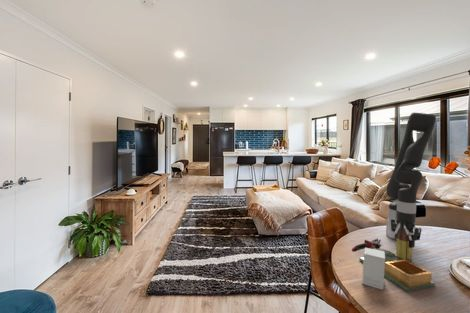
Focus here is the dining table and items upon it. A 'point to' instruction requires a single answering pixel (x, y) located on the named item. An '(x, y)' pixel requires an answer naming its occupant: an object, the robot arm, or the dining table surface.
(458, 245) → the dining table surface
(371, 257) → the supplement box
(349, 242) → the dining table surface
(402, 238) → the sauce bottle
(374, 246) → the pliers
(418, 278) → the chute mount
